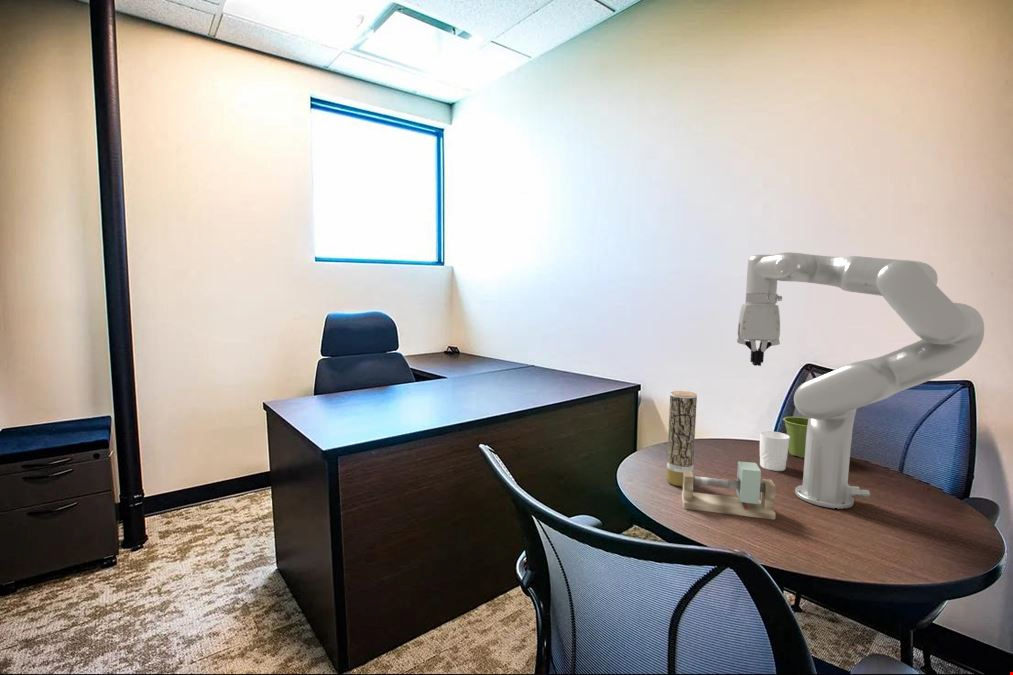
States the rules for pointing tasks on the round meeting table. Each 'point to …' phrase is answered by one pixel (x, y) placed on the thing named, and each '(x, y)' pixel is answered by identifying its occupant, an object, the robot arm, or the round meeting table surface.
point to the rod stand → (727, 497)
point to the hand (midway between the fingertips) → (756, 364)
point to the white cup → (773, 450)
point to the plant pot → (796, 435)
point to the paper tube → (681, 435)
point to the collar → (748, 482)
